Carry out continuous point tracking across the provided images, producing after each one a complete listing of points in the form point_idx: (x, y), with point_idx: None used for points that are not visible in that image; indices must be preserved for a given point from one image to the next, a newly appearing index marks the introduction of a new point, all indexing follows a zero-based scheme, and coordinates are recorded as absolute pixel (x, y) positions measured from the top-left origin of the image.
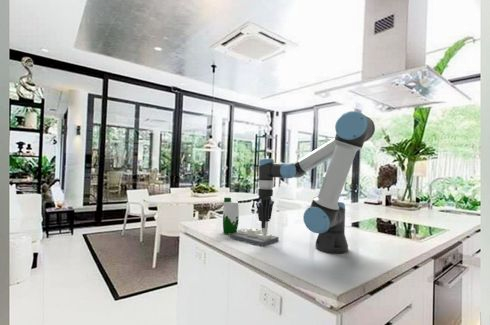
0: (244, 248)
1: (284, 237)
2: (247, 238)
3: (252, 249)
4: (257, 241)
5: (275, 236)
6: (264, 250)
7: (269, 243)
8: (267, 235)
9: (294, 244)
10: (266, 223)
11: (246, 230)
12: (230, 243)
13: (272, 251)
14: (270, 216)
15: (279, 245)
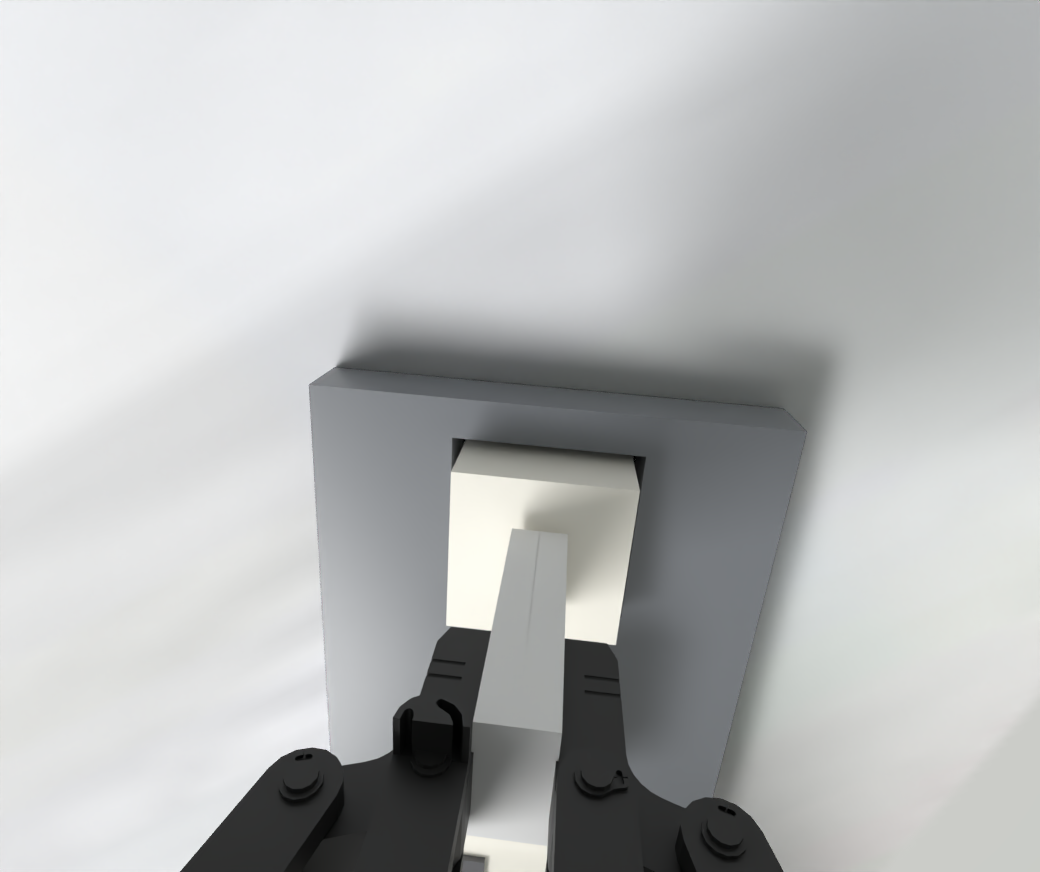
0: (1025, 558)
1: (96, 385)
2: (733, 703)
3: (1019, 449)
4: (779, 528)
5: (319, 441)
6: (979, 274)
7: (592, 393)
8: (543, 503)
9: (307, 16)
10: (539, 692)
11: (499, 863)
12: (891, 784)
13: (968, 128)
14: (249, 841)
15: (555, 217)
